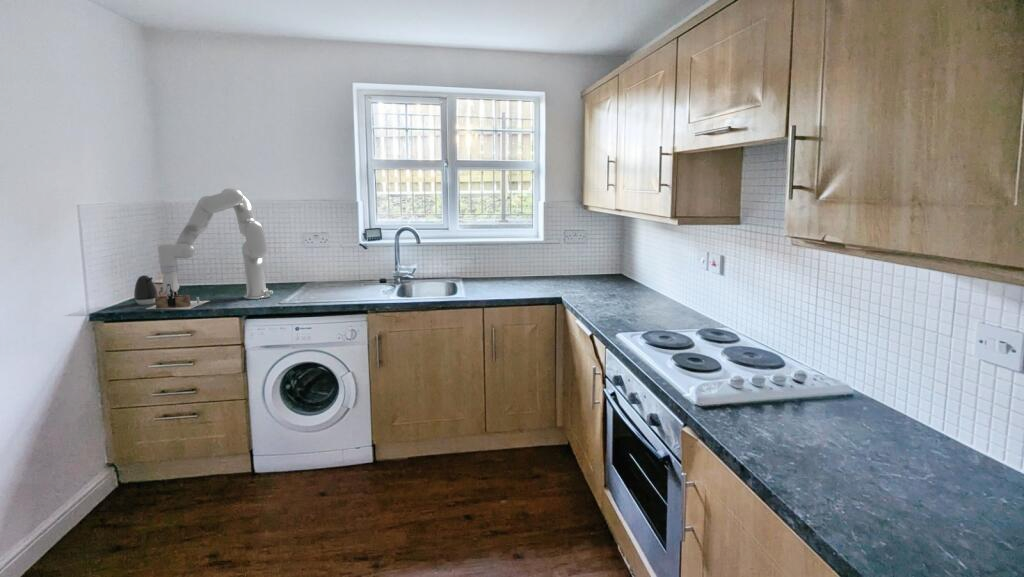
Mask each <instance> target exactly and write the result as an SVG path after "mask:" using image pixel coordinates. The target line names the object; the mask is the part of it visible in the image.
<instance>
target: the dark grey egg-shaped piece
mask: <svg viewBox="0 0 1024 577" xmlns="http://www.w3.org/2000/svg"><path fill="white" fill-rule="evenodd" d="M133 293H134V294H133V295H134V296H133V298H134V300H135V302H136V304H138V305H141V306H144V305H145V306H147V305H153V304H156V303H155V299H156V298H157V297H158V293H157V290H156V287H155V285H154V281H153V277H150V276H148V275H145V274H144V275H141V276H139V277H138V278H137V280H136V282H135V287H134V291H133Z"/></svg>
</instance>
